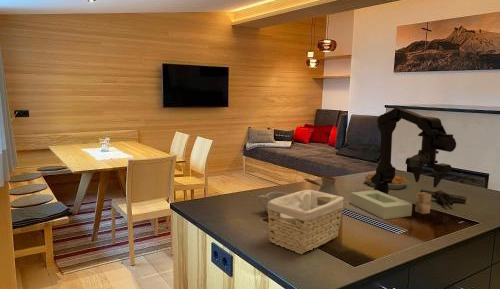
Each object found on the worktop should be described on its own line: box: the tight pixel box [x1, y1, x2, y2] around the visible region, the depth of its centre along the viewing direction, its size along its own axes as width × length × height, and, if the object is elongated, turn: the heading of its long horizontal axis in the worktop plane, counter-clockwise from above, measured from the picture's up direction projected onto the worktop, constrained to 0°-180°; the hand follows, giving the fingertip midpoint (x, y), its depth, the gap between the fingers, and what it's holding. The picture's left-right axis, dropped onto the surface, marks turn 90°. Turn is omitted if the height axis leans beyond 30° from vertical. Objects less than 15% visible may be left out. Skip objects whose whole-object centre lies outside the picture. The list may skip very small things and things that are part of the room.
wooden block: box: [414, 192, 432, 215], centre depth 155 cm, size 4×4×8 cm
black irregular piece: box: [419, 189, 467, 206], centre depth 166 cm, size 5×20×15 cm
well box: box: [350, 189, 413, 220], centre depth 158 cm, size 22×14×5 cm, turn 21°
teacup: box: [257, 191, 290, 212], centre depth 150 cm, size 14×11×8 cm
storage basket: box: [267, 189, 345, 253], centre depth 123 cm, size 24×16×15 cm
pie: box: [364, 172, 408, 190], centre depth 200 cm, size 22×22×5 cm
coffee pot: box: [301, 176, 340, 205], centre depth 156 cm, size 21×12×15 cm, turn 128°
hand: (425, 184), depth 154 cm, fingers open, 9 cm apart
